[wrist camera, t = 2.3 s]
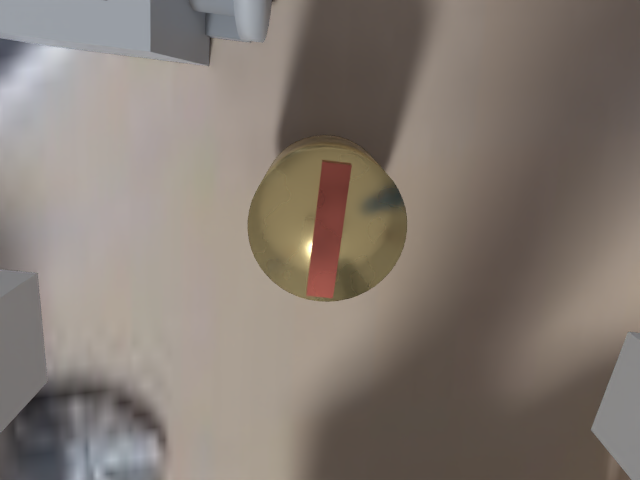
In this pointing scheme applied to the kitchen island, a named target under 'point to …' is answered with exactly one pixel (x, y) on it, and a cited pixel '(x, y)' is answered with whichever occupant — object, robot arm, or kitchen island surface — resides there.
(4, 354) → the robot arm
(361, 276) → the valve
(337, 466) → the kitchen island surface
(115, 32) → the grey box with flanges
